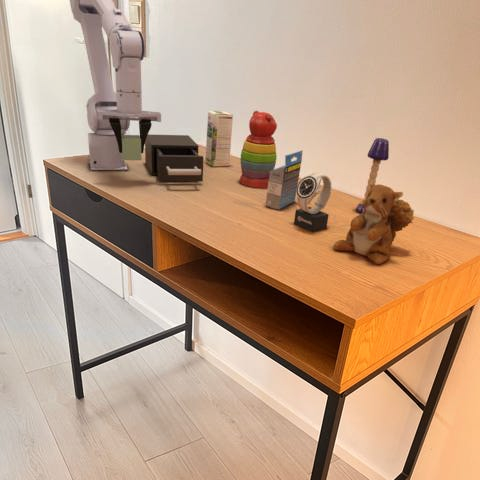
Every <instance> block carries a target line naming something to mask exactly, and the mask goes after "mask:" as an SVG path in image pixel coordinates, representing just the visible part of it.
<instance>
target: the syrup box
mask: <svg viewBox="0 0 480 480" xmlns="http://www.w3.org/2000/svg"><path fill="white" fill-rule="evenodd" d="M233 119H234V114H231V113H229V112H227V111H224V110H208V111H207V124H206V125H207V126H206V141H205V142H206V144H205V163H207V164H208V165H209V166H211V167H230V160H231V147H232V146H231V145H232V134H233V133H232V132H233V121H234V120H233Z"/></svg>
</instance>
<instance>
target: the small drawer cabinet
mask: <svg viewBox="0 0 480 480" xmlns="http://www.w3.org/2000/svg"><path fill="white" fill-rule="evenodd" d="M154 148H193V149H194V150H195V151H196V152H197V153H198V154H199V145H198V144H197V142H196V141H195V140H194V139H193V138H192V137H191V136H190V135H188V134H186V135H185V134H149V133H148V135H147V138H146V141H145V145H144V151H145V152H144V160H145V165H146V167H147V169H148V171H149V173H150V175H151V176H153V177H156V176H157V177H158V173H157V172H156V170H155V168H154Z"/></svg>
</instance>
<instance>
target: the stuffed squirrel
mask: <svg viewBox="0 0 480 480" xmlns="http://www.w3.org/2000/svg"><path fill="white" fill-rule="evenodd" d="M403 196H404V192H403V191H395V190H393V188H392V187H390V186H387V185H383V184H376V183H374V182H371V183H370V191H369V193H368V195H367V197H366V200H361V201H360V202H359V203H358V204H357V205H356V207H357V206H359V204H362V203H363V201H364V203H363V204H362V206H363V205H364V204H365V209H366V210H364V211H363V212H362V214H361V213H360V214H359V215H357V216H355V217H353V218H352V219H351V221H350V228H349V230H348V232H347V234H346V236H345V239H340V240H339V239H338V240H337V241H336V242H335V243H333V246H332V247H333V249H334V250H335V251H341V252H353V251H354V252H355V253H357V254H359V255H361V256H363V257H365V256H366V257H367V259H369V260H370V261H371V262H372V263H374V264H376V265H381V264H383V263H385V262H386V261H387V260H388V259H389V257H390V256H391V255H390V254H391V247H392V245H393V243H394V241H395V239H396V237H397V233H398V232H400V231H403V229H405V228H406V227H408V226H409V225H410V224H414V222H413V220H414V219H415V217H414V213H415V211H414V209H412V207H411V204H409V202H407V201H404V199H400V198H402V197H403ZM362 206H361V208H362ZM361 208H360V209H359V210H361ZM396 232H397V233H396Z"/></svg>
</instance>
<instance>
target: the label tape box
mask: <svg viewBox="0 0 480 480" xmlns="http://www.w3.org/2000/svg"><path fill="white" fill-rule="evenodd" d="M294 158H296V159H295V160H292V159H294ZM302 159H303V150H298V151H296V152H292V153H289V154H285V155H284V165H282V166H279V167H277V168H276V167H275V168H274V170H271V171H270V175H269V183H268V188H267V191H266V199H265V207H268V208H271V209H274V210H281V209H283V208H285V207H286V206H288V205H290V204H292V203H294V202H295V201H296V198H297V192H296V189H297V185H298V184H299V180H300V179H299V178H300V172H301V168H302V167H301V166H302V161H303V160H302Z"/></svg>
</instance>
